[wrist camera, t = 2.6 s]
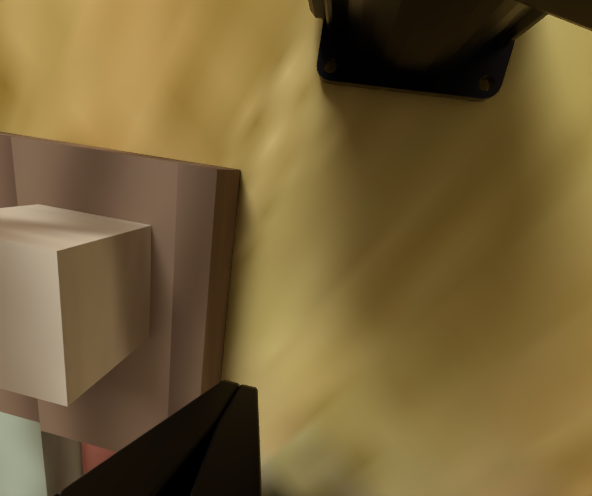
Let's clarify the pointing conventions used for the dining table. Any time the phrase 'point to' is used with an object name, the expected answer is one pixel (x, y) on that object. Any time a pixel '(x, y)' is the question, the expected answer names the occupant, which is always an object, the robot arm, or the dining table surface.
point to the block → (69, 298)
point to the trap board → (163, 302)
